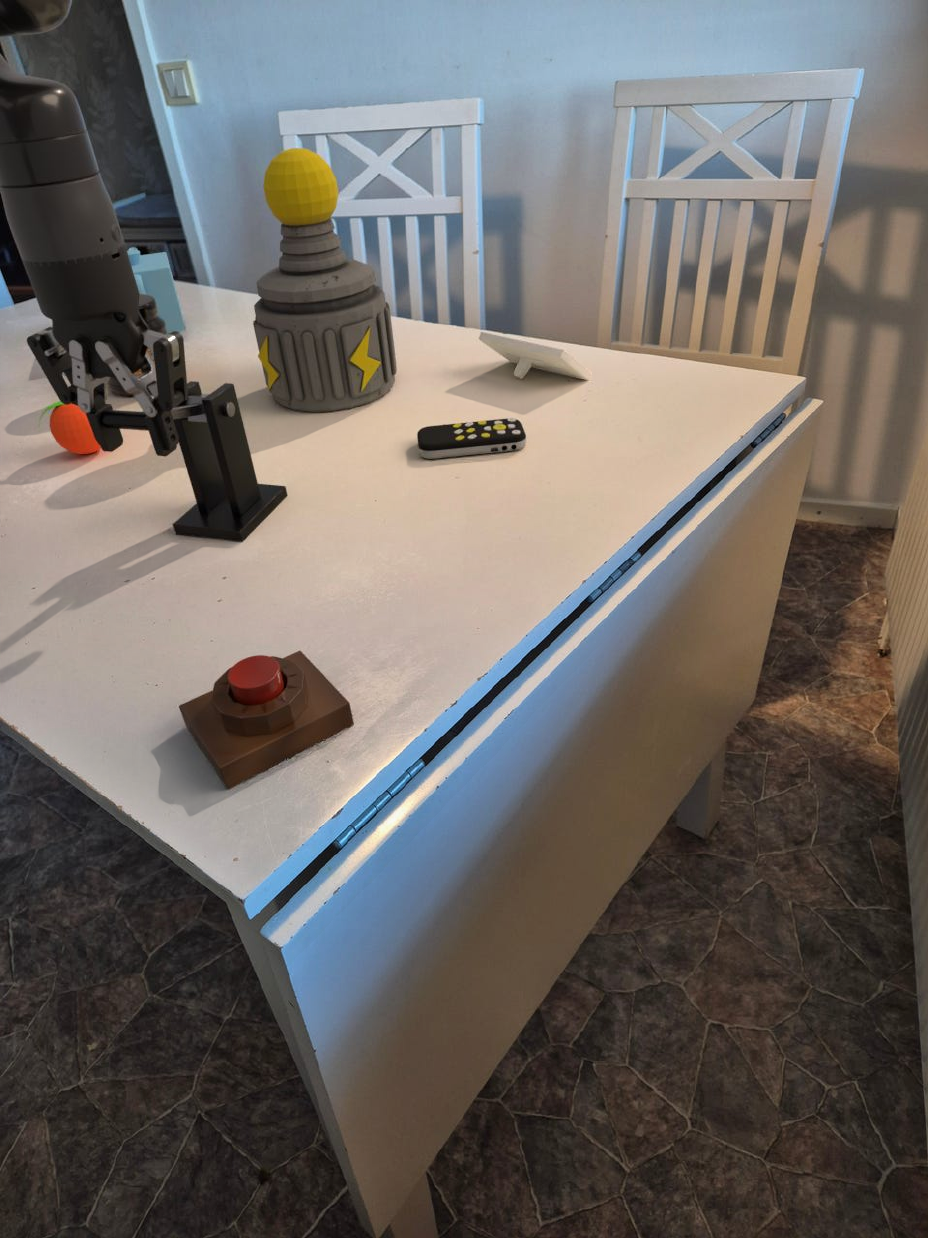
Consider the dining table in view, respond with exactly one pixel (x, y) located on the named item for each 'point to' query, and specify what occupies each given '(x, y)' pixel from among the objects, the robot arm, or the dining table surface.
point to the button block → (266, 721)
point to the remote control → (471, 438)
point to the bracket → (222, 471)
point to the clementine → (72, 428)
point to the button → (256, 680)
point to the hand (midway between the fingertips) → (140, 449)
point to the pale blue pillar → (158, 286)
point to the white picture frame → (535, 356)
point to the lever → (137, 420)
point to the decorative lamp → (318, 300)
